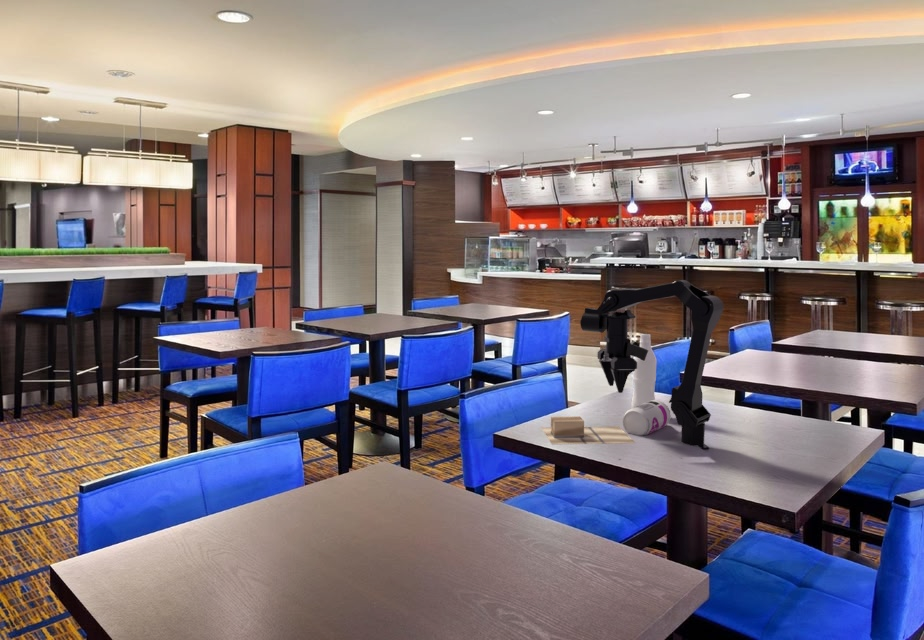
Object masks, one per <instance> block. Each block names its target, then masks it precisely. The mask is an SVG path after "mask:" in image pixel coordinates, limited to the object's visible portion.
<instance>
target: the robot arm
mask: <svg viewBox="0 0 924 640" xmlns="http://www.w3.org/2000/svg"><path fill="white" fill-rule="evenodd" d="M673 297H676V298H678V299H679V300H680V302H681V303H682V304H683V306H685V307H687V308H688V309H689V310H690V321H691V326H692V333H691V337H690V343H689V347H688V352H687V353H688V354H687V357H686V361H685V367H684V372H683V376H682V381H681V383H680V384H679V385H677V386H674V387H672V389H671V396H670V399H669V401H668V403H669V404H670V411H672V413H673V415H675V419H676V421H677V422H676V423H677V425H679V426H681V433H680V437H681V438H680V442H681V443H683V444H685V445H688V446H691V447H693V446H694V447H695V446H697V447H699V448H700V449H702V450H709V449H710V447H709V446H708V445H707V444H706V443H705V431H706V430H705V429H706V428H705V427H706V424H705V423H706V422H709V420H710V418H711V416H712V414H711V413H710V412H709V410H708V409H707V408H706V406H704V404H703V390H702V386H701V385H702V384H701V383H702V378H703V373H704V369H705V365H706V360H707V357H708V351H709V346H710V342H711V341H710V340H711V337H712V333H713V331H714V329H715V328H716V326H717V324H718V323H719V321H720V320H721V319H720V318H721V316H722V314H723V312H724V308H725V307H724V302H723V301H722V300H721V299H720V298H719V297H718V296H716V295H710V294H709V293H707V291H704V290H702V289H701V288H699V287H696V286H695V285H693V284H692V283H690V282H689V281H687V280H685V279H681V280H674V282H669V283H663V284H659V285H654V286H653V285H651V286H648V287H642V288H618V289H610V290H607V291H606V293H605V294H604V297H603V300H602V301H601V304H600V305H599V306H598V308H593V307H585V308H584V312H583V313H582V316H581V317H580V321H579V323H580V328H581V330H582V331H584V332H591V333H605V332H606V336H604V341H606V343H605V344H606V345H605V348H600V349H599V350H598V351H597V359H598V362H599V364H600V366H601V368H602V370H603V374H604V376H605V378H606V381H607V383H608V385H609V387H613V386H614V384H615V386H616V387H615V388H616V389H617V393H620V394H623V392H624V389H625V386H626V383H627V380H628V377H629V375H631V373H633V372H634V371H635V369H637V362H636V360H635V359H633V358H634V357H637V358H640V359H641V360H643V361H645V358H646V356H647V353H648V350H647V349H644V348H642V347H640V342H638V341H636V340H632V341H631V339H630V338H629V337H628V336H629V335H628V333H629V331H628V328H629V327H628V325H629V320H632V319H633V320H635V319H636V315H635V314H634V313H632V311H631V310H630V309H629V308H631V307H633V306H637V305H638V304H640V303H644V302H648V301H649V302H650V301H657V300H660V299H666V298H667V299H668V298H673ZM625 309H626V310H625ZM620 310H624V312H623V311H622V312H621V311H620ZM609 313H612V314H609ZM631 356H632V357H631Z"/></svg>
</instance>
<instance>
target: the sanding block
mask: <svg viewBox="0 0 924 640" xmlns="http://www.w3.org/2000/svg"><path fill="white" fill-rule="evenodd" d="M584 427H585V421H584V419H583V418H582V417H581V416H578V415H577V416H551V417H550V428H551V434H552V436H553V437H554V438H584Z"/></svg>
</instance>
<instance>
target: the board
mask: <svg viewBox="0 0 924 640" xmlns="http://www.w3.org/2000/svg"><path fill="white" fill-rule="evenodd" d="M541 429H542V431H543V433H544V434H545V436H546V437H547V439H548V440H549V442H550V444H551V445H589V444H590V445H593V444H595V445H596V444H598V445H599V444H636V443H637V442H636V441H635V440H634V439H632V438H631V436H629V435H628V433H627V432H626V431H624V430H623V429H622V428H621V427H619V426H584V438H554V437H553V436H552V434H551V427H541Z"/></svg>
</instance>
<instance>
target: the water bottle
mask: <svg viewBox="0 0 924 640" xmlns="http://www.w3.org/2000/svg"><path fill="white" fill-rule="evenodd" d="M651 336H652V335H651V334H649V333H648V334H647V333H641V334H640V338H639V342H638V343H640V347H642V348H644V349H647V350H648V353H647V356H646V358H645V361H643V360H641V359H640V358H637V357H634V356H633V357H632V358H633V359H635V360H636V362H637V369H635V371H634V372H632V383H633V393H632V399H631V408H634V407H636V406H639V405H641V404H644V403H646V402H649V401H652V400H656V398H655V397H656V396H655V387H656V383H657V382H656V381H657V364H658V360H657V357H656V355H655V353H654V351H653V348H652V345H651V343H652V340H651Z"/></svg>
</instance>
